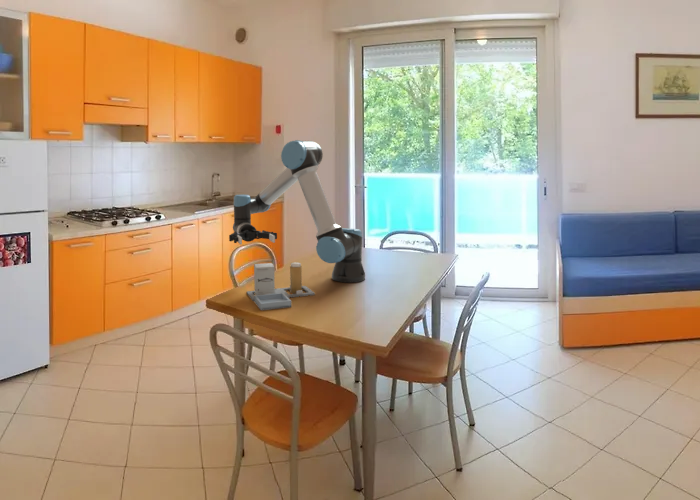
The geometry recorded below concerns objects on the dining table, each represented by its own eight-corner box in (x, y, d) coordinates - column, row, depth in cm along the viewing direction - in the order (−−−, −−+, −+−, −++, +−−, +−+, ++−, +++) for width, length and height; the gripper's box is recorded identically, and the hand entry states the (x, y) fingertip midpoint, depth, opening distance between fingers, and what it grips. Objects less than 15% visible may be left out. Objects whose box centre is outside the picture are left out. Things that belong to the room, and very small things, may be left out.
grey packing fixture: (305, 287, 218) (305, 283, 218) (314, 295, 207) (314, 290, 207) (246, 293, 209) (246, 288, 208) (253, 301, 198) (252, 296, 197)
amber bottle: (299, 290, 213) (299, 261, 211) (303, 293, 209) (302, 264, 207) (289, 291, 212) (288, 262, 209) (292, 294, 207) (291, 265, 205)
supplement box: (256, 299, 201) (255, 267, 199) (254, 293, 208) (253, 263, 206) (275, 297, 203) (274, 266, 201) (272, 292, 210) (272, 262, 208)
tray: (283, 298, 202) (283, 292, 201) (291, 307, 191) (291, 300, 191) (254, 301, 197) (254, 295, 197) (261, 310, 187) (260, 303, 186)
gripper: (274, 239, 235) (287, 247, 216) (218, 241, 225) (227, 251, 206) (274, 222, 234) (287, 229, 214) (218, 224, 224) (226, 232, 205)
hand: (257, 240), depth 210 cm, fingers open, 13 cm apart
